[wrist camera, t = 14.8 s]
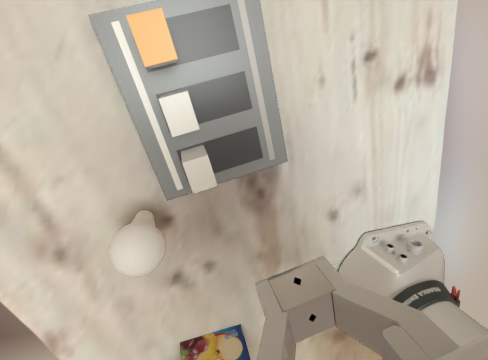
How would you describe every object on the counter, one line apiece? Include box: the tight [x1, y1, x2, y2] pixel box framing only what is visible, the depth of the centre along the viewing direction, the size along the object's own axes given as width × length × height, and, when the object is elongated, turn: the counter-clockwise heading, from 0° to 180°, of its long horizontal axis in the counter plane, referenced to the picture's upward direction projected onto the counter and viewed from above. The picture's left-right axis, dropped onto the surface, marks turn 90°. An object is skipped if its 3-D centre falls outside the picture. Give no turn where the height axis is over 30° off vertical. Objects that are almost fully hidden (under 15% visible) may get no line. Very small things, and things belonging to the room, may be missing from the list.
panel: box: [88, 0, 288, 201], centre depth 29 cm, size 18×22×7 cm
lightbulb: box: [108, 210, 166, 277], centre depth 31 cm, size 6×6×11 cm
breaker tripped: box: [126, 8, 178, 69], centre depth 25 cm, size 3×4×5 cm
